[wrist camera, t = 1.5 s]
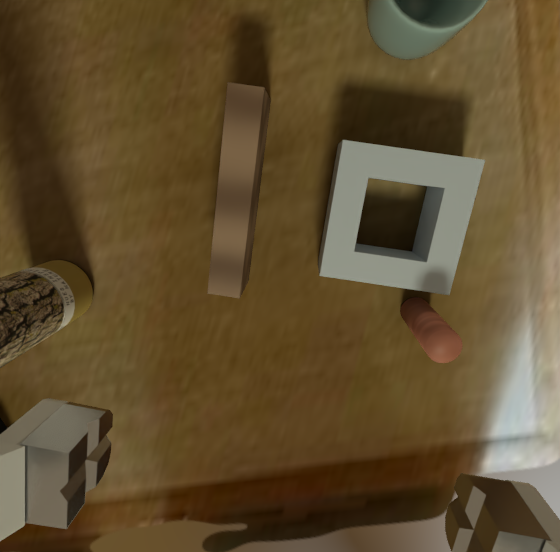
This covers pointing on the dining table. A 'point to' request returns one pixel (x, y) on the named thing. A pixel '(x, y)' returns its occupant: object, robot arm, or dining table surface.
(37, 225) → the dining table surface
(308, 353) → the dining table surface
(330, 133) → the dining table surface
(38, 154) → the dining table surface
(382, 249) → the holed block
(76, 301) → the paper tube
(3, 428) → the beer stein
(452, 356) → the sausage
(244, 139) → the walnut wall
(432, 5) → the cup
